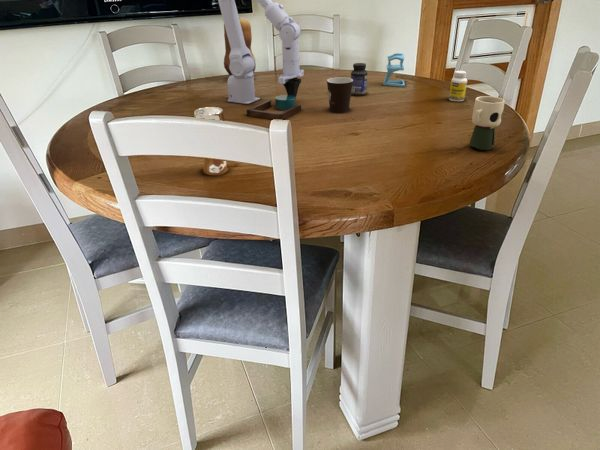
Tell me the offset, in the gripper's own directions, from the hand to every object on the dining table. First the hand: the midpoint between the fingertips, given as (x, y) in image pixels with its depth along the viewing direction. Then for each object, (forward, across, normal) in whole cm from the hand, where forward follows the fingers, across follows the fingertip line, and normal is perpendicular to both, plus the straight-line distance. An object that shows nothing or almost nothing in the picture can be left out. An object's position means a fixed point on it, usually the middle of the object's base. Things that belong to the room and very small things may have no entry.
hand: (292, 100), depth 164 cm
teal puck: (+1, -5, 0) cm, 5 cm away
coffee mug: (+2, +2, -18) cm, 18 cm away
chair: (+2, +42, -23) cm, 48 cm away
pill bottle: (+2, +22, -16) cm, 28 cm away
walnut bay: (+1, -11, 0) cm, 11 cm away
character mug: (+2, -16, -68) cm, 70 cm away
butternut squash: (+2, +25, +40) cm, 47 cm away
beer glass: (+2, -60, -13) cm, 62 cm away
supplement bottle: (+2, +29, -51) cm, 59 cm away
